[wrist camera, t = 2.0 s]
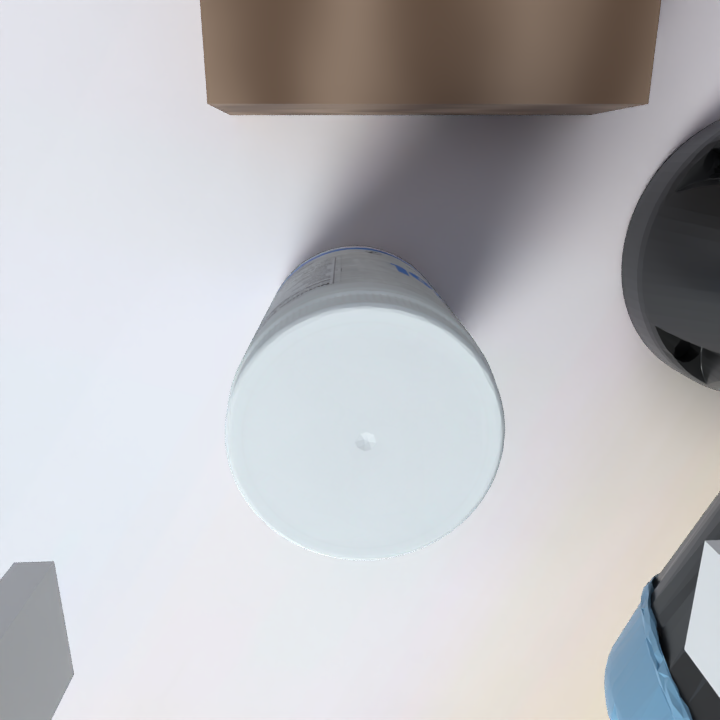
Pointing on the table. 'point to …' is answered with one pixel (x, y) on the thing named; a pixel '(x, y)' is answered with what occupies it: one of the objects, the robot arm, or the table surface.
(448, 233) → the table surface
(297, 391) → the supplement tub
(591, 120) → the table surface
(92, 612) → the table surface
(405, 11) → the walnut riser
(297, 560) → the table surface
